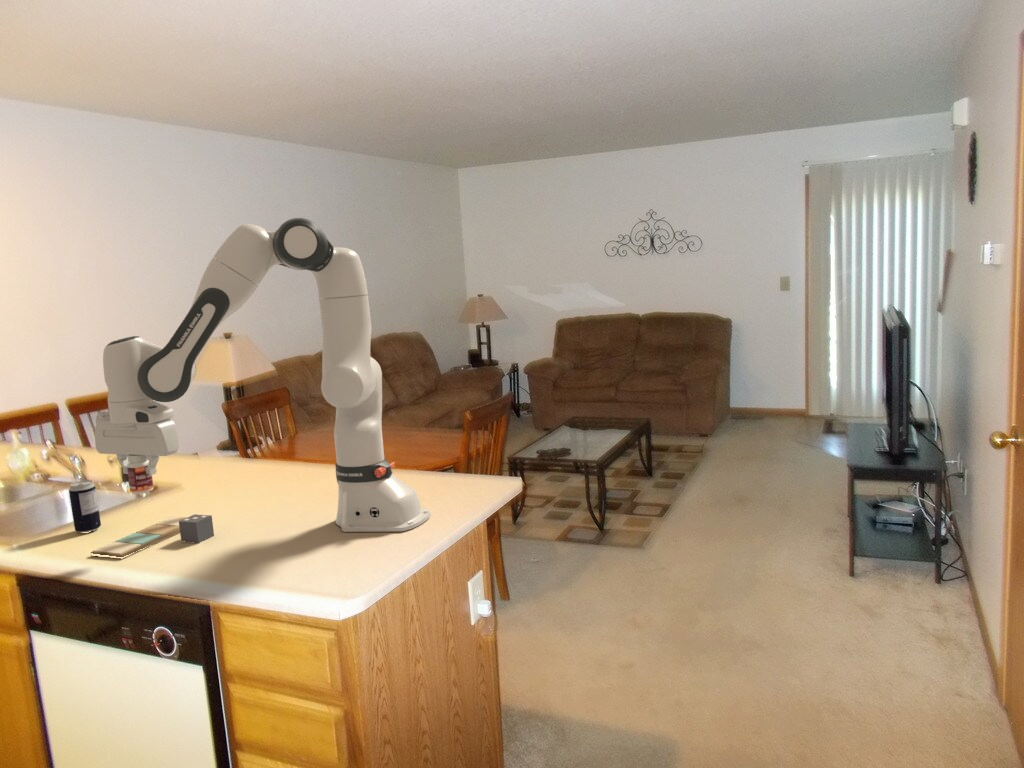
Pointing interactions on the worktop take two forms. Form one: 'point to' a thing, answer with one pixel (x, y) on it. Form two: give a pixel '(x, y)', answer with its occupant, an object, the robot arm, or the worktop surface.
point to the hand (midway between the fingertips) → (140, 473)
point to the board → (142, 538)
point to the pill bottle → (139, 474)
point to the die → (196, 528)
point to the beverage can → (84, 506)
